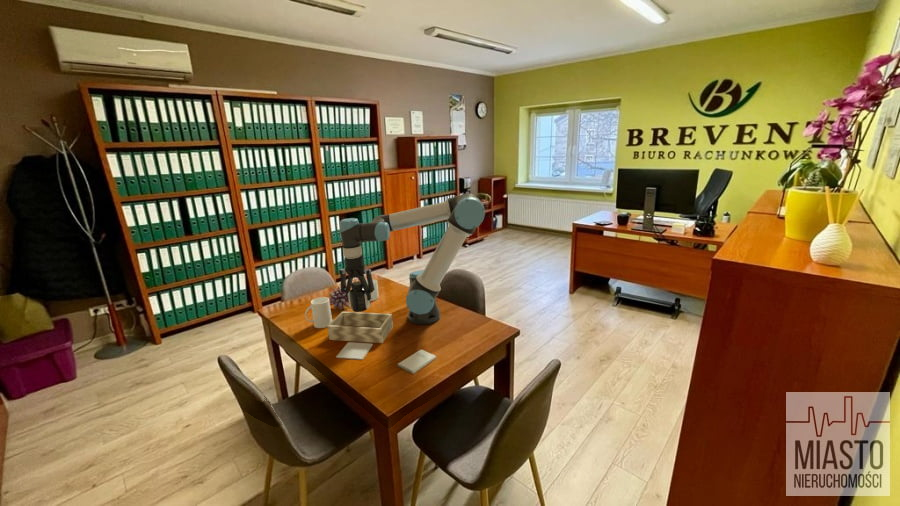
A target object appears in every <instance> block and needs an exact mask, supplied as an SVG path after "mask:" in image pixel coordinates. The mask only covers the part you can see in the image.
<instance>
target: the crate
mask: <svg viewBox="0 0 900 506" xmlns="http://www.w3.org/2000/svg"><path fill="white" fill-rule="evenodd" d="M393 321H394V319H393V314H392V313H380V312H379V313H378V312H377V313H376V312H363V311H362V312H354V311H341V312H340V313H339V314H338V315H337V316H336V317H335V318H334V319H332V322H331V323H330V324H329V325H328V326H327V327H326V328H327V332H328V333H327V335H328V340H329V341H342V342H343V341H345V342H355V343H370V344H373V343H374V344H383V343H384V342H385V340H386V338H387V337H388V336H389V334H390V332H391V331H392V329H393V328H394V323H393Z"/></svg>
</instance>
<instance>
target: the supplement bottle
mask: <svg viewBox="0 0 900 506" xmlns="http://www.w3.org/2000/svg"><path fill="white" fill-rule="evenodd" d="M365 293H366V292H365V290H364V288H363V286H362V284H361V282H360V280H358V281H357V280H356V281H352V284H351V289H350V298H351V305H352V308H351V311H352V312H362V313H363V312H365V311H367V310H368V308H366V303H365V295H364V294H365Z"/></svg>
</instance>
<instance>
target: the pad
mask: <svg viewBox="0 0 900 506" xmlns="http://www.w3.org/2000/svg"><path fill="white" fill-rule="evenodd" d="M373 346H374V344H373V343H370V342H355V341H347V343H346V344H345V345H344V347H343V348H342V349H341V350H340V351H339V353H338V354H337V355H336V356H335V357H336V358H338V359H346V360H347V359H349V360H360V361H362V360H364V358H365V357H366V355H367V354H368V353H369V351H370V350H371V348H372V347H373Z"/></svg>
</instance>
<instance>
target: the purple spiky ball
mask: <svg viewBox="0 0 900 506" xmlns="http://www.w3.org/2000/svg"><path fill="white" fill-rule="evenodd" d="M331 290H332V291H331V292H329V293H328V296H330V297H328V298H329V302H330V306H333V308H334V309H337V308H339V309H340V310H342V309H343V308H344V306H345V307H346V308H347V307H349V304H348V303H349V300H347V297H346V293H345V292H341V285H339V286H337V288H336V289H335V288H332V289H331Z"/></svg>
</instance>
